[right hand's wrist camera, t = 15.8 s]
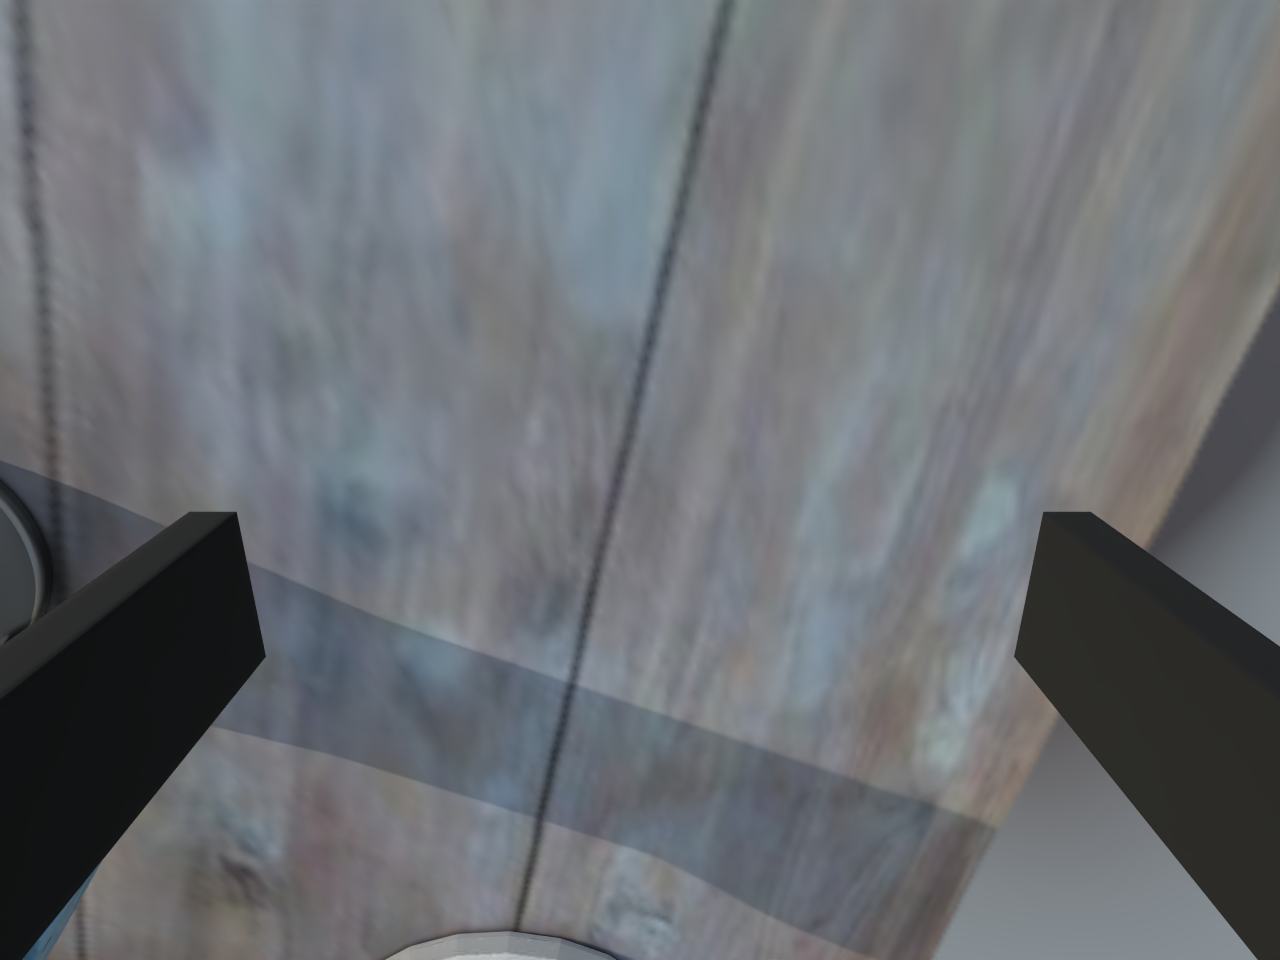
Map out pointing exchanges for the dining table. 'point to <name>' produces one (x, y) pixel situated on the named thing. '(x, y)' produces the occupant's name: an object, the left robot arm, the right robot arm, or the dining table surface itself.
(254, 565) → the dining table surface
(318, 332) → the dining table surface
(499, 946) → the wall clock
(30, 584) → the left robot arm
